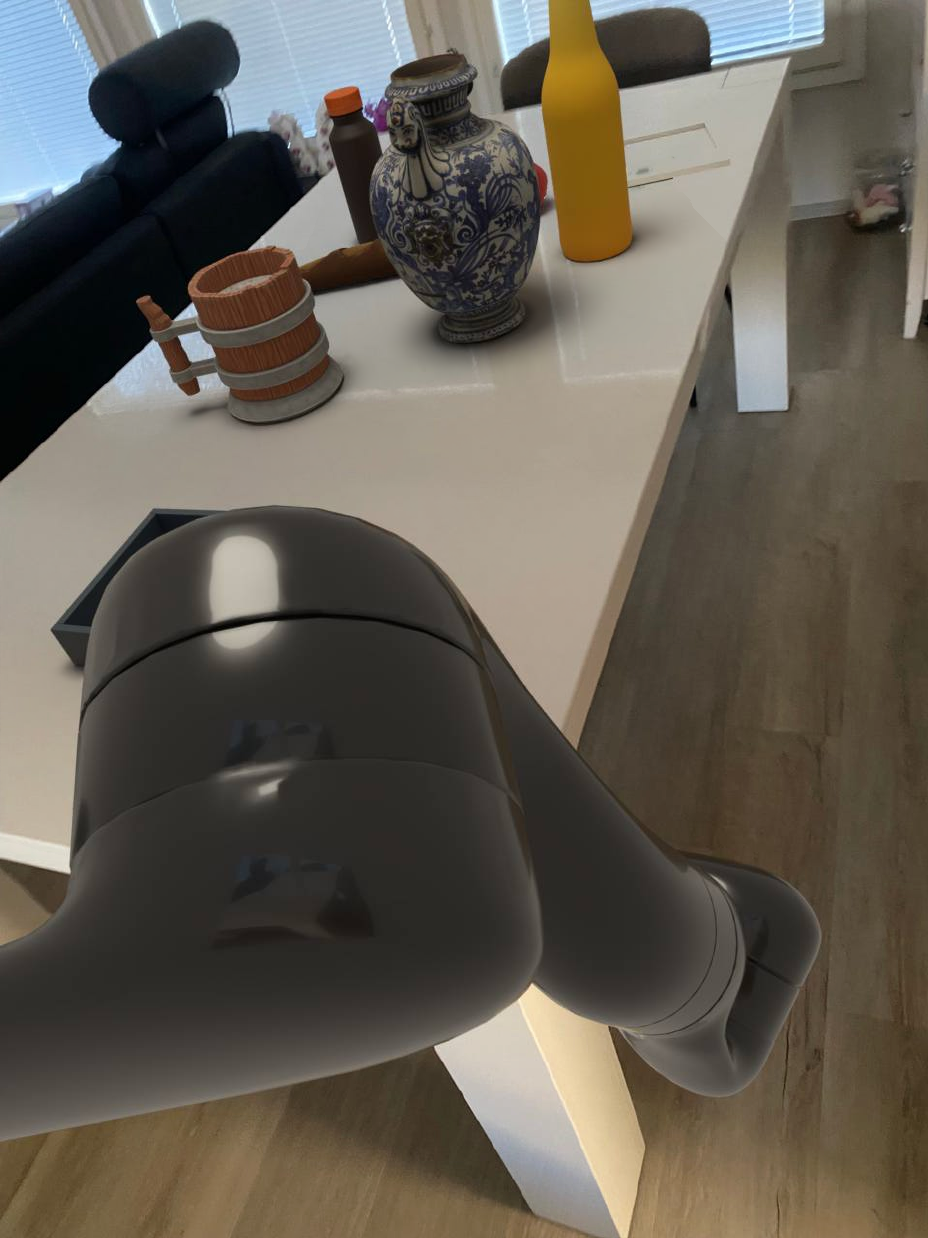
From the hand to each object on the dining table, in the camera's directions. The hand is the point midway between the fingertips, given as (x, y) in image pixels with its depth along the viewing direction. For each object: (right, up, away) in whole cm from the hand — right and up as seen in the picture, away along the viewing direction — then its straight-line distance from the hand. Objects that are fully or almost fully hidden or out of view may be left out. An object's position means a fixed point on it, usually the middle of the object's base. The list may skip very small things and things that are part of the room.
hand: (277, 707), depth 64 cm
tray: (-11, +7, +21) cm, 25 cm away
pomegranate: (+20, +65, +74) cm, 100 cm away
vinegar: (0, +62, +78) cm, 100 cm away
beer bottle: (+30, +54, +59) cm, 85 cm away
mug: (-11, +32, +48) cm, 59 cm away
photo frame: (+43, +74, +77) cm, 115 cm away
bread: (+2, +53, +67) cm, 86 cm away
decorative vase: (+15, +41, +51) cm, 67 cm away
